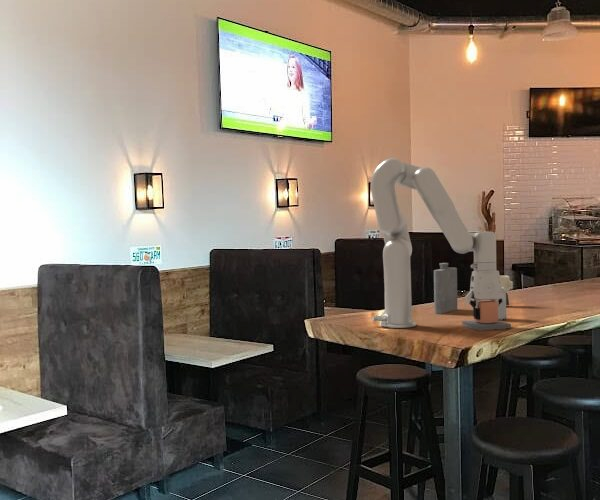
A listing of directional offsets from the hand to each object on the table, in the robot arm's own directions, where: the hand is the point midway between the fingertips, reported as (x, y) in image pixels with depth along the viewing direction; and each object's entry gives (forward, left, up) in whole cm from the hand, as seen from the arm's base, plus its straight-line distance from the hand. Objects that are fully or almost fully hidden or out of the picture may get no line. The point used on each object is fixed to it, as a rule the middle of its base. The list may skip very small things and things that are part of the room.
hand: (485, 318), depth 225 cm
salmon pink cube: (0, 0, -1) cm, 1 cm away
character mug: (+32, +44, -3) cm, 55 cm away
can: (+12, +14, -3) cm, 19 cm away
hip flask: (+4, +40, -3) cm, 40 cm away
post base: (0, 0, -3) cm, 3 cm away
